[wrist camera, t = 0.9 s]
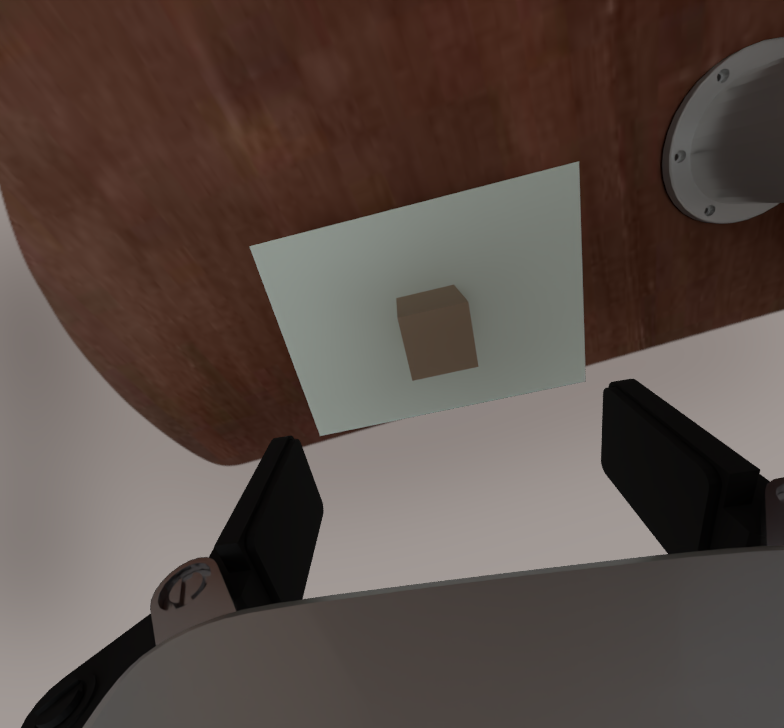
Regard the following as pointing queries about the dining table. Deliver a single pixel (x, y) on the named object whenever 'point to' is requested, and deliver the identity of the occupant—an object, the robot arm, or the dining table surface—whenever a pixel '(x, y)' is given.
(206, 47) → the dining table surface
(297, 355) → the lid
